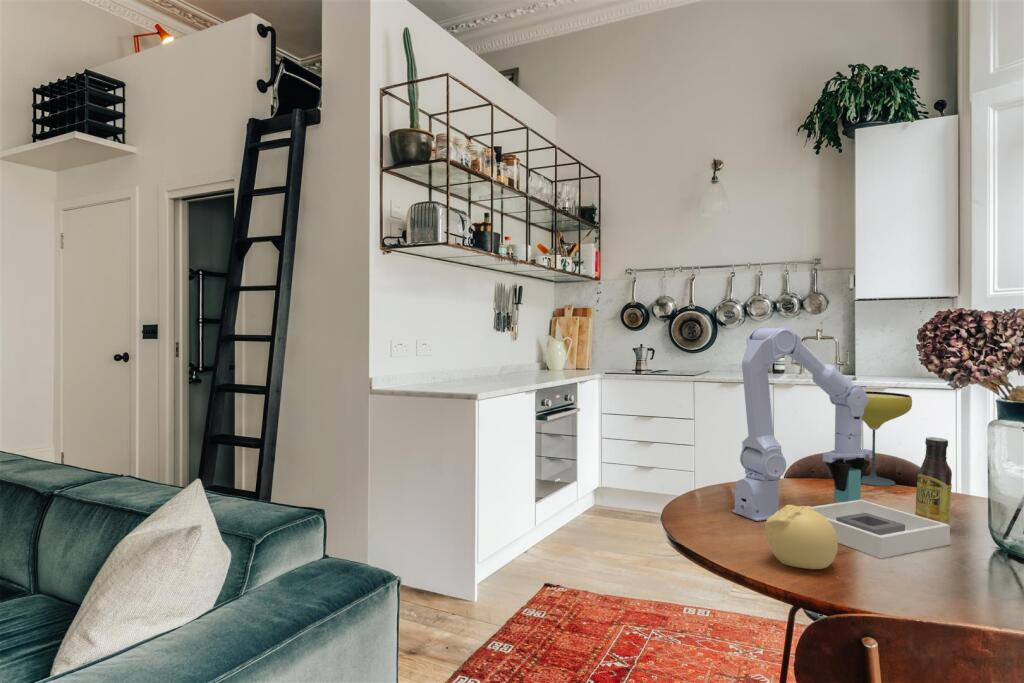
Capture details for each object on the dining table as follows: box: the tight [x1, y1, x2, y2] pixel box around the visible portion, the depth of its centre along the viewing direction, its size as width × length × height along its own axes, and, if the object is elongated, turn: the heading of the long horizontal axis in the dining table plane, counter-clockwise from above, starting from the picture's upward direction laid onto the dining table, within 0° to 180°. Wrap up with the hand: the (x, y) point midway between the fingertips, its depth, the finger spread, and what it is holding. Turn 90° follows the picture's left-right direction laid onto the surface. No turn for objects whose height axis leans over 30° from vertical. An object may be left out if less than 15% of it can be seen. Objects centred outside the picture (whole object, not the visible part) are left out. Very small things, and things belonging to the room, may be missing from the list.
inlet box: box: [810, 499, 951, 559], centre depth 130 cm, size 20×20×4 cm
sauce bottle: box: [914, 436, 953, 525], centre depth 134 cm, size 7×6×20 cm
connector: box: [833, 467, 862, 503], centre depth 150 cm, size 4×4×8 cm
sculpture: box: [764, 504, 839, 570], centre depth 115 cm, size 11×12×11 cm
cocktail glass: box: [861, 390, 913, 487], centre depth 176 cm, size 18×18×25 cm
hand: (847, 489), depth 150 cm, fingers closed on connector, 4 cm apart
